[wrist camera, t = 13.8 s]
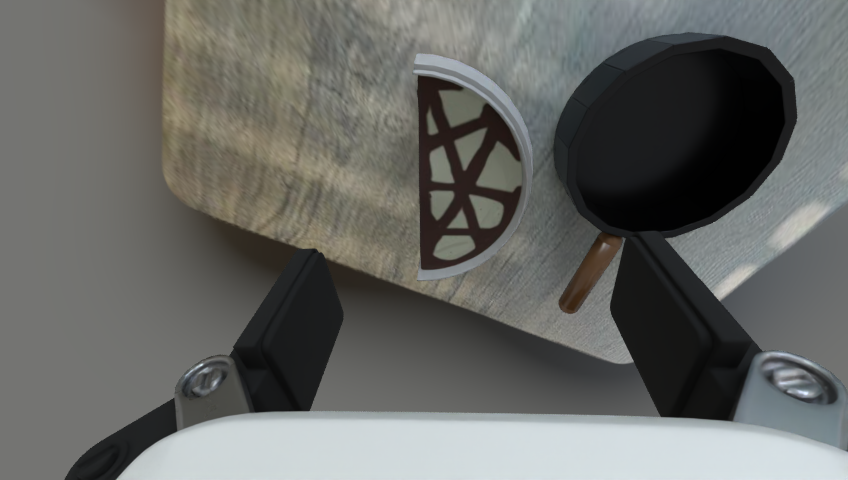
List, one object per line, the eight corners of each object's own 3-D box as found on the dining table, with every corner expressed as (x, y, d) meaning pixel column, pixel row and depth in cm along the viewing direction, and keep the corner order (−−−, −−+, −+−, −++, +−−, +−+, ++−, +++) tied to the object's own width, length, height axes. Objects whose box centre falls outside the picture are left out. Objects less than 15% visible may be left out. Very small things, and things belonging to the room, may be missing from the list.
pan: (607, 9, 21) (635, 9, 18) (795, 63, 22) (857, 73, 18) (492, 270, 32) (496, 301, 29) (618, 301, 33) (636, 333, 30)
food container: (503, 211, 29) (521, 293, 21) (428, 209, 29) (417, 287, 21) (525, 40, 22) (566, 58, 14) (428, 40, 23) (412, 58, 14)
